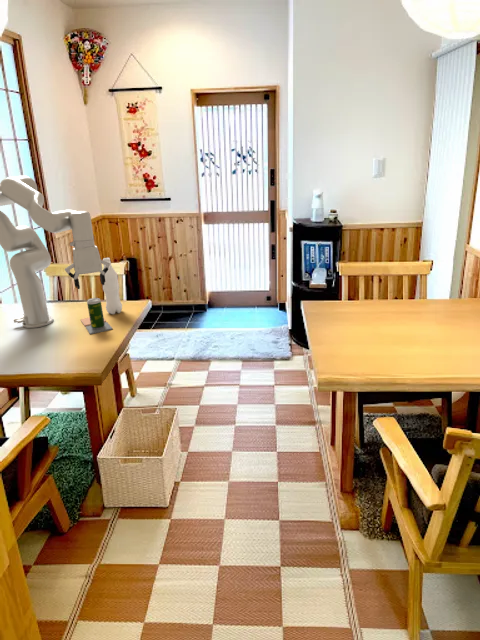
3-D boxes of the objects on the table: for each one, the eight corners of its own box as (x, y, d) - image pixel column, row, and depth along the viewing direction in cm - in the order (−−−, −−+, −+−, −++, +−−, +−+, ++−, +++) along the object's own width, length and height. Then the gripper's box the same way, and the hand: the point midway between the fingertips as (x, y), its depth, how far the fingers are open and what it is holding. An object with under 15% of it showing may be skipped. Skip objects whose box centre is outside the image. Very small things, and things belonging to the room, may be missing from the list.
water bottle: (125, 309, 214) (117, 256, 205) (119, 314, 207) (111, 260, 199) (110, 310, 215) (101, 257, 206) (104, 315, 208) (95, 260, 200)
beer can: (99, 324, 196) (95, 297, 191) (107, 326, 192) (103, 299, 188) (88, 328, 192) (84, 300, 188) (96, 330, 188) (91, 302, 184)
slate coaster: (90, 334, 187) (90, 333, 186) (85, 327, 194) (85, 326, 194) (112, 329, 190) (112, 328, 190) (107, 323, 198) (107, 321, 198)
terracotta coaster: (84, 326, 196) (84, 325, 195) (80, 320, 203) (80, 319, 203) (106, 321, 200) (106, 320, 199) (101, 316, 207) (101, 315, 207)
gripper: (62, 248, 173) (70, 292, 179) (109, 242, 181) (114, 284, 187) (59, 245, 179) (66, 287, 185) (104, 239, 187) (109, 280, 193)
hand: (90, 286), depth 186 cm, fingers open, 9 cm apart
